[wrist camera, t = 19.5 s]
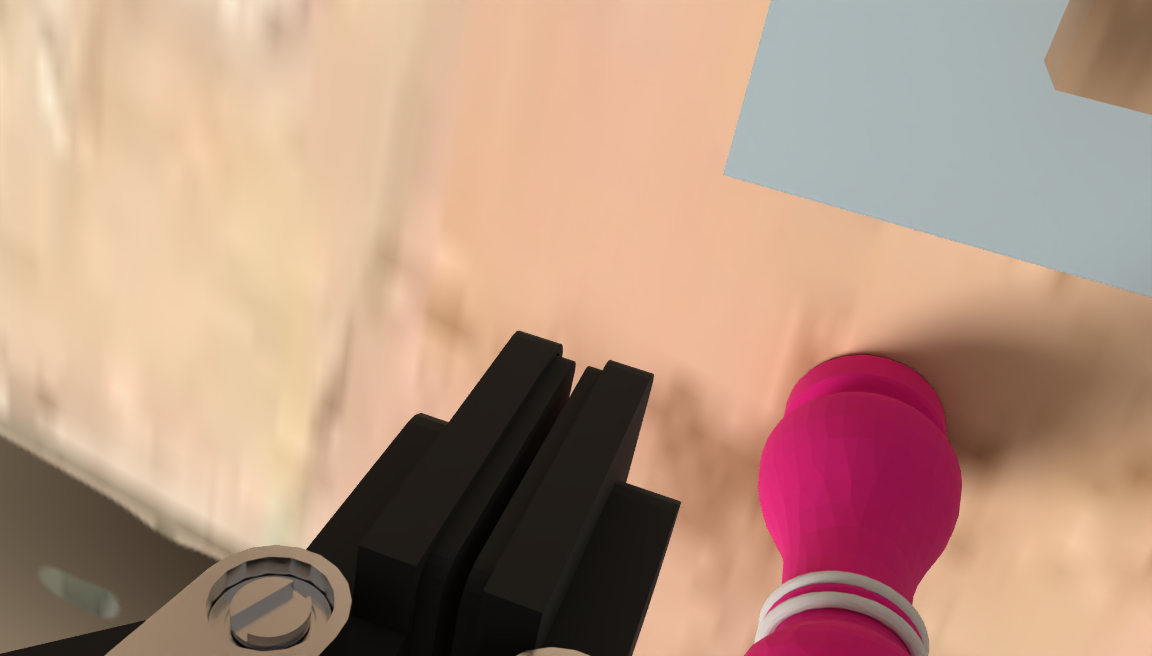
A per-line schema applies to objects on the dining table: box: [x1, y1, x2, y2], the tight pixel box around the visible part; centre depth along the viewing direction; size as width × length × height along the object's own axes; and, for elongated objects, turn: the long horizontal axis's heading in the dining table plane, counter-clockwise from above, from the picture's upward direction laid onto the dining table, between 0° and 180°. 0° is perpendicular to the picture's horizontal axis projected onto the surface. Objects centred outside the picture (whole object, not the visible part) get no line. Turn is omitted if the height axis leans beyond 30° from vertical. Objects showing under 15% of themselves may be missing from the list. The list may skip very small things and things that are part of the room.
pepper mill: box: [744, 355, 962, 656], centre depth 33 cm, size 7×7×20 cm
